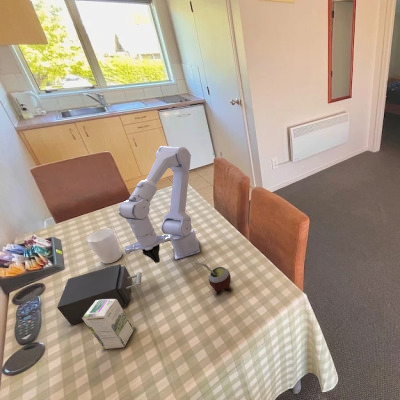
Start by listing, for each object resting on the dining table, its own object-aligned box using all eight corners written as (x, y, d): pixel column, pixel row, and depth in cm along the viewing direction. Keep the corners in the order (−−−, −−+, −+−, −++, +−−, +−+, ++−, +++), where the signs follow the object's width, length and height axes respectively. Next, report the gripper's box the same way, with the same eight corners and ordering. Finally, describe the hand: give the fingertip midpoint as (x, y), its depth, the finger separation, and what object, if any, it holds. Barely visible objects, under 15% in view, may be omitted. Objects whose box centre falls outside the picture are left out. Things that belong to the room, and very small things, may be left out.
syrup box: (115, 331, 81) (94, 299, 74) (135, 329, 81) (116, 297, 74) (104, 349, 76) (79, 317, 69) (125, 347, 76) (103, 315, 69)
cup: (112, 267, 104) (98, 243, 98) (93, 264, 106) (78, 240, 100) (130, 252, 112) (119, 229, 106) (112, 249, 114) (100, 226, 107)
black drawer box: (129, 280, 98) (119, 263, 94) (125, 306, 89) (115, 288, 84) (80, 296, 93) (68, 278, 88) (71, 325, 83) (56, 307, 78)
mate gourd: (236, 283, 96) (228, 252, 89) (223, 300, 90) (213, 268, 82) (219, 278, 98) (210, 247, 91) (205, 294, 92) (194, 263, 84)
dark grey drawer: (145, 274, 99) (138, 261, 96) (143, 296, 91) (136, 283, 87) (87, 293, 92) (77, 279, 89) (79, 318, 84) (68, 304, 80)
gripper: (117, 245, 85) (134, 275, 92) (168, 231, 90) (179, 260, 97) (120, 233, 90) (135, 262, 97) (167, 221, 96) (178, 249, 103)
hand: (157, 261), depth 98 cm, fingers closed
